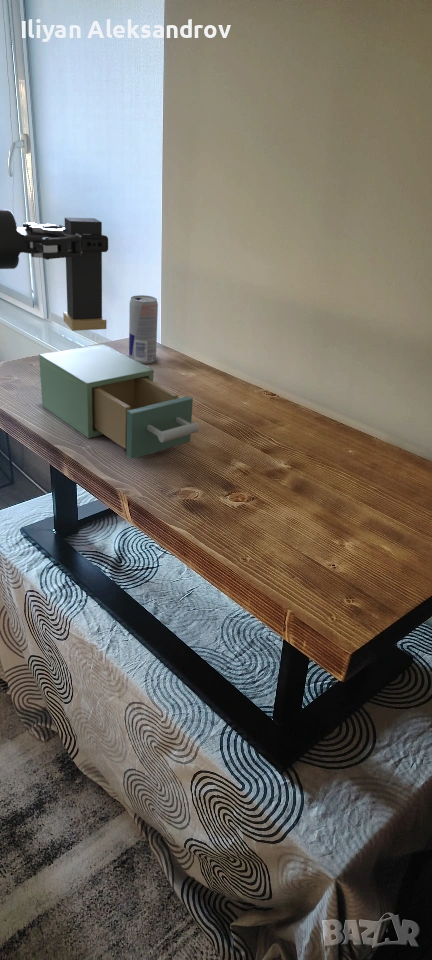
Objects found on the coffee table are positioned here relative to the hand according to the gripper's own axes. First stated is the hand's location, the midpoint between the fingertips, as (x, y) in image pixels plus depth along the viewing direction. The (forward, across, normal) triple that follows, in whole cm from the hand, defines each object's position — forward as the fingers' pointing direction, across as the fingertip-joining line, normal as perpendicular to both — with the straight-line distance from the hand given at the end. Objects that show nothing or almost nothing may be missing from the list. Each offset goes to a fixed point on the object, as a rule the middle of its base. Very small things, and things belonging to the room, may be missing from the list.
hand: (102, 240), depth 91 cm
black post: (-3, 0, +12) cm, 13 cm away
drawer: (+1, -16, +25) cm, 29 cm away
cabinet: (-2, -3, +26) cm, 26 cm away
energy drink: (+14, +20, +26) cm, 35 cm away
